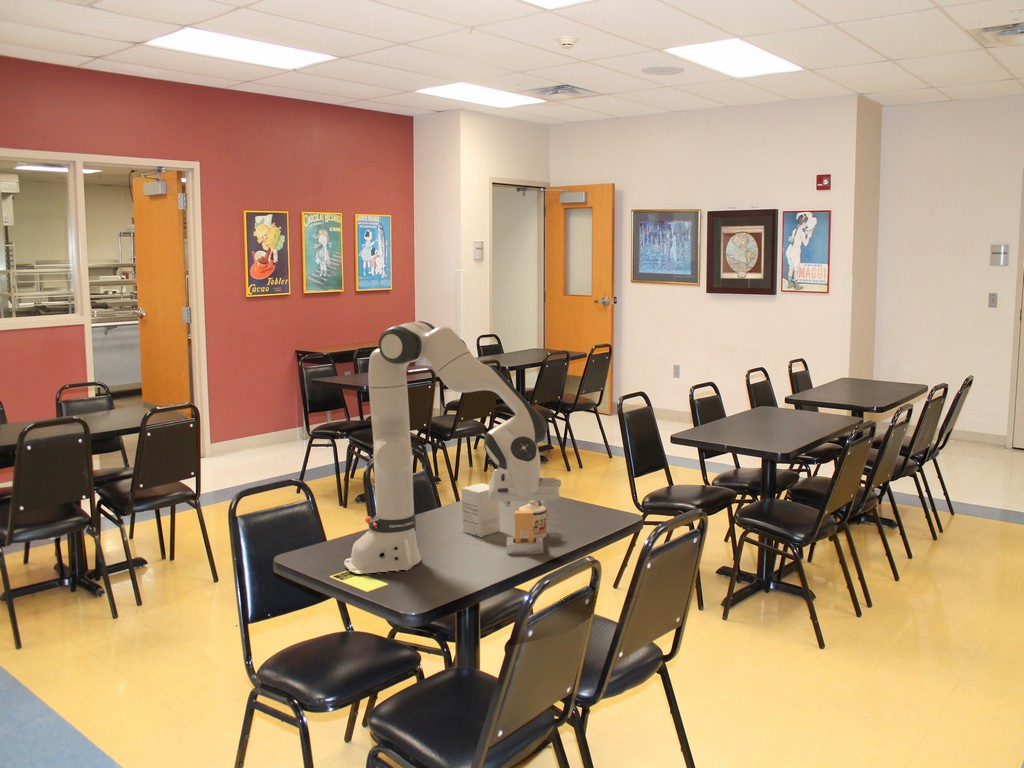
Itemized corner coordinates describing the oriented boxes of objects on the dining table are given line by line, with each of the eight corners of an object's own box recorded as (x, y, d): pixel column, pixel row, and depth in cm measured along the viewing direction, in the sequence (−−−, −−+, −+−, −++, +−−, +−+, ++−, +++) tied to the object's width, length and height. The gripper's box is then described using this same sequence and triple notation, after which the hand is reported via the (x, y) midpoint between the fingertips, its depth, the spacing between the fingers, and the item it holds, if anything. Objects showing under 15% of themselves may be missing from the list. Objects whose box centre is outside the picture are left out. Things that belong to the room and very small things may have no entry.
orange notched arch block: (533, 548, 272) (532, 510, 270) (533, 551, 269) (533, 513, 267) (515, 548, 272) (514, 510, 270) (515, 551, 269) (514, 513, 267)
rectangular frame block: (543, 553, 266) (543, 544, 266) (506, 554, 266) (506, 544, 266) (542, 545, 274) (542, 536, 274) (507, 546, 274) (506, 536, 274)
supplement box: (482, 526, 296) (481, 482, 294) (500, 531, 290) (499, 486, 288) (461, 532, 290) (460, 487, 288) (480, 537, 284) (479, 492, 282)
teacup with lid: (534, 542, 278) (534, 506, 276) (513, 536, 284) (512, 501, 282) (558, 533, 287) (558, 498, 285) (537, 528, 293) (536, 493, 291)
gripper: (560, 468, 247) (559, 494, 258) (487, 470, 247) (489, 495, 258) (562, 488, 243) (560, 513, 254) (487, 489, 243) (489, 514, 254)
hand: (524, 504), depth 256 cm, fingers open, 8 cm apart
